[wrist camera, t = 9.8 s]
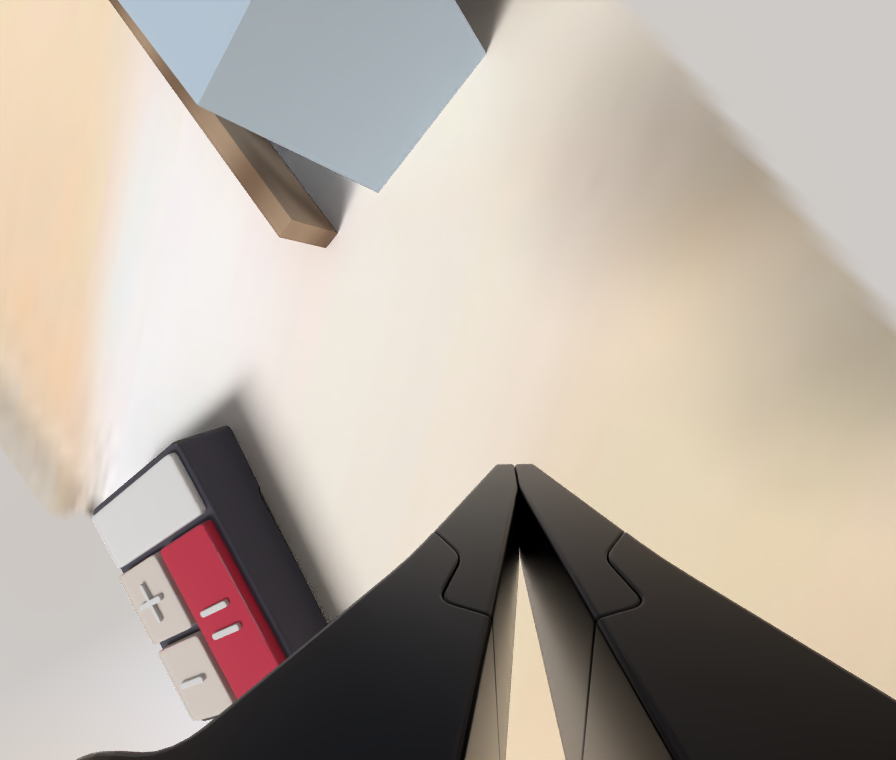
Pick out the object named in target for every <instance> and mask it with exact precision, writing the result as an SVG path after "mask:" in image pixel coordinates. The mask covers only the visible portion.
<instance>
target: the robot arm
mask: <svg viewBox="0 0 896 760" xmlns="http://www.w3.org/2000/svg"><path fill="white" fill-rule="evenodd" d="M519 552H520V559H521V565H522V570H523V574H524V578H525V583H526V587H527V592H528V596H529V600H530V605H531V609H532V614H533V618H534V622H535V627H536V631H537V636H538V640H539V644H540V649H541V653H542V658H543V662H544V666H545V671H546V675H547V680H548V684H549V688H550V693H551V697H552V702H553V706H554V710H555V715H556V719H557V724H558V728H559V732H560V737H561V741H562V746H563V750H564V754H565V759H566V760H896V700H895V699H893V698H892V697H890V696H888V695H887V694H885V693H883V692H882V691H880V690H878V689H877V688H875V687H873V686H872V685H870V684H868V683H867V682H865V681H864V680H862V679H860V678H859V677H857V676H855V675H854V674H852V673H850V672H849V671H847V670H845V669H844V668H842V667H840V666H839V665H837V664H835V663H834V662H832V661H831V660H829V659H827V658H826V657H824V656H822V655H821V654H819V653H817V652H816V651H814V650H812V649H811V648H809V647H807V646H806V645H804V644H802V643H801V642H799V641H798V640H796V639H794V638H793V637H791V636H789V635H788V634H786V633H784V632H783V631H781V630H779V629H778V628H776V627H774V626H773V625H771V624H769V623H768V622H766V621H764V620H763V619H761V618H760V617H758V616H756V615H755V614H753V613H751V612H750V611H748V610H746V609H745V608H743V607H741V606H740V605H738V604H736V603H735V602H733V601H731V600H730V599H728V598H727V597H725V596H723V595H722V594H720V593H718V592H717V591H715V590H713V589H712V588H710V587H708V586H707V585H705V584H703V583H702V582H700V581H698V580H697V579H695V578H694V577H692V576H690V575H689V574H687V573H685V572H684V571H682V570H681V569H679V568H678V567H676V566H674V565H673V564H671V563H670V562H668V561H667V560H665V559H663V558H662V557H660V556H659V555H658V554H656V553H655V552H653V551H652V550H650V549H649V548H647V547H646V546H645V545H643V544H642V543H640V542H639V541H638V540H636V539H635V538H633V537H632V536H631V535H629V534H628V533H624V531H623V530H622V529H620V528H619V527H617V526H616V525H615V524H613V523H612V522H611V521H609V520H608V519H607V518H605V517H604V516H603V515H601V514H600V513H598V512H597V511H596V510H594V509H593V508H592V507H590V506H589V505H588V504H586V503H585V502H584V501H582V500H581V499H580V498H578V497H577V496H575V495H574V494H573V493H571V492H570V491H569V490H567V489H566V488H565V487H563V486H562V485H561V484H559V483H558V482H556V481H555V480H554V479H552V478H551V477H550V476H548V475H547V474H546V473H544V472H543V471H542V470H540V469H539V468H538V467H536V466H535V465H533V464H517V465H516V466H515V467H514V465H512V464H500V465H496V466H495V467H494V468H493V469H492V470H491V471H490V472H489V473H488V474H487V476H486V477H485V478H484V479H483V480H482V481H481V482H480V483H479V484H478V485H477V486H476V487H475V488H474V490H473V491H472V492H471V493H470V494H469V495H468V496H467V497H466V498H465V499H464V500H463V501H462V502H461V504H460V505H459V506H458V507H457V508H456V509H455V510H454V511H453V512H452V513H451V514H450V515H449V516H448V518H447V519H446V520H445V521H444V522H443V523H442V524H441V525H440V526H439V527H438V528H437V529H436V530H435V532H434V533H432V534H431V535H430V536H429V537H428V538H427V539H426V540H425V541H424V542H423V543H422V544H421V545H420V546H419V547H418V548H417V549H416V550H415V551H414V552H413V553H412V554H411V555H410V556H409V557H408V558H407V559H406V560H405V561H404V562H403V563H401V564H400V565H399V566H398V567H397V568H396V569H395V570H393V571H392V572H391V573H390V574H389V575H387V576H386V577H385V578H384V579H383V580H381V581H380V582H379V583H378V584H377V585H375V586H374V587H373V588H372V589H371V590H369V591H368V592H367V593H366V594H364V595H363V596H362V597H361V598H360V599H358V600H357V601H356V602H355V603H354V604H352V605H351V606H350V607H349V608H348V609H346V610H345V611H344V612H343V613H341V614H340V615H339V616H338V617H337V618H335V619H334V620H333V621H332V622H331V623H329V624H328V625H327V626H326V627H324V628H323V629H322V630H321V631H320V632H318V633H317V634H316V635H315V636H314V637H312V638H311V639H310V640H309V641H308V642H306V643H305V644H304V645H303V646H301V647H300V648H299V649H298V650H297V651H295V652H294V653H293V654H292V655H291V656H289V657H288V658H287V659H286V660H284V661H283V662H282V663H281V664H280V665H278V666H277V667H276V668H275V669H274V670H272V671H271V672H270V673H269V674H268V675H266V676H265V677H264V678H263V679H261V680H260V681H259V682H258V683H257V684H255V685H254V686H253V687H252V688H251V689H249V690H248V691H247V692H246V693H244V694H243V695H242V696H241V697H240V698H238V699H237V700H236V701H235V702H234V703H232V704H231V705H230V706H229V707H228V708H226V709H225V710H224V711H223V712H221V713H220V714H219V715H218V716H217V717H215V718H214V719H213V720H212V721H211V722H210V723H208V724H207V725H206V726H204V727H203V728H202V729H201V730H199V731H198V732H196V733H195V734H193V735H192V736H191V737H189V738H187V739H185V740H184V741H181V742H180V743H178V744H176V745H174V746H171V747H168V748H165V749H162V750H159V751H154V752H128V751H103V752H96V753H91V754H88V755H85V756H83V757H81V758H78V759H77V760H506V746H507V732H508V717H509V703H510V689H511V674H512V660H513V646H514V631H515V617H516V603H517V588H518V574H519Z"/></svg>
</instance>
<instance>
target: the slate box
mask: <svg viewBox="0 0 896 760" xmlns="http://www.w3.org/2000/svg"><path fill="white" fill-rule="evenodd" d="M118 1H119V3H120V4H121V5H122V6H123V8H124V9H125V10H126V12H127V13H128V14H129V16H130V17H131V18H132V20H133V21H134V22H135V24H136V25H137V26H138V28H139V29H140V30H141V31H142V33H143V34H144V35H145V37H146V38H147V39H148V41H149V42H150V43H151V45H152V46H153V47H154V49H155V50H156V51H157V53H158V54H159V55H160V56H161V58H162V59H163V60H164V62H165V63H166V64H167V66H168V67H169V68H170V70H171V71H172V72H173V74H174V75H175V76H176V78H177V79H178V80H179V81H180V83H181V84H182V85H183V87H184V88H185V89H186V91H187V92H188V93H189V95H190V96H191V97H192V99H193V100H194V101H195V103H196V104H197V105H198V106H200V107H202V108H204V109H206V110H208V111H210V112H213V113H215V114H217V115H219V116H221V117H223V118H225V119H227V120H229V121H231V122H233V123H235V124H237V125H239V126H241V127H243V128H246V129H248V130H250V131H252V132H254V133H256V134H258V135H260V136H262V137H264V138H266V139H268V140H270V141H272V142H274V143H276V144H278V145H281V146H283V147H285V148H287V149H289V150H291V151H293V152H295V153H297V154H299V155H301V156H303V157H305V158H307V159H309V160H311V161H313V162H316V163H318V164H320V165H322V166H324V167H326V168H328V169H330V170H332V171H334V172H336V173H338V174H340V175H342V176H344V177H346V178H348V179H351V180H353V181H355V182H357V183H359V184H361V185H363V186H365V187H367V188H369V189H371V190H373V191H375V192H377V193H379V191H380V190H381V189H382V188H383V186H384V185H385V184H386V182H387V181H388V180H389V178H390V177H391V176H392V175H393V173H394V172H395V171H396V169H397V168H398V167H399V166H400V164H401V163H402V162H403V160H404V159H405V158H406V157H407V155H408V154H409V153H410V151H411V150H412V149H413V148H414V146H415V145H416V144H417V142H418V141H419V140H420V138H421V137H422V136H423V135H424V133H425V132H426V131H427V129H428V128H429V127H430V126H431V124H432V123H433V122H434V120H435V119H436V118H437V117H438V115H439V114H440V113H441V111H442V110H443V109H444V108H445V106H446V105H447V104H448V102H449V101H450V100H451V98H452V97H453V96H454V95H455V93H456V92H457V91H458V89H459V88H460V87H461V86H462V84H463V83H464V82H465V80H466V79H467V78H468V77H469V75H470V74H471V73H472V71H473V70H474V69H475V68H476V66H477V65H478V64H479V62H480V61H481V60H482V59H483V57H484V56H485V55H486V52H485V50H484V49H483V47H482V45H481V43H480V42H479V40H478V38H477V37H476V35H475V33H474V32H473V30H472V28H471V26H470V25H469V23H468V21H467V20H466V18H465V16H464V15H463V13H462V11H461V10H460V8H459V6H458V4H457V3H456V1H455V0H118Z"/></svg>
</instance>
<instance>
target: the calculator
mask: <svg viewBox="0 0 896 760" xmlns="http://www.w3.org/2000/svg"><path fill="white" fill-rule="evenodd" d="M93 514H94V516H93V518H92V520H93V522H94V525H95V526H96V528H97V530H98V532H99V534H100V536H101V538H102V540H103V542H104V544H105V546H106V548H107V550H108V552H109V553H110V555H111V557H112V559H113V561H114V563H115V565H116V566H117V568H121V569H122V571H123V573H124V574H123V575H121V576H120V578H119V580H120V583H121V585H122V587H123V588H124V590H125V593H126V594H127V596H128V598H129V600H130V602H131V604H132V606H133V608H134V610H135V612H136V614H137V616H138V618H139V619H140V621H141V623H142V625H143V627H144V629H145V631H146V633H147V635H148V637H149V639H150V640H151V642H152V643H153V644H157V643H159V642H160V644H161V646H162V648H163V649H162V650H161V651H160V652H159V653H158V655H159V658H160V660H161V662H162V664H163V666H164V667H165V669H166V671H167V673H168V675H169V677H170V679H171V681H172V682H173V685H174V687H175V689H176V691H177V693H178V695H179V696H180V698H181V700H182V702H183V704H184V706H185V708H186V710H187V712H188V714H189V716H190V717H191V719H192V720H193V721H199V720H203V721H206V720H210V719H213V718H215V717H217V716H218V715H219V714H220V713H221V712H223V711H224V710H225V709H226V708H228V707H229V706H230V705H231V704H232V703H234V702H235V701H236V700H237V699H238V698H240V697H241V696H242V695H243V694H244V693H246V692H247V691H248V690H249V689H251V688H252V687H253V686H254V685H255V684H257V683H258V682H259V681H260V680H261V679H263V678H264V677H265V676H266V675H268V674H269V673H270V672H271V671H272V670H274V669H275V668H276V667H277V666H278V665H280V664H281V663H282V662H283V661H284V660H286V659H287V658H288V657H289V656H291V655H292V654H293V653H294V652H295V651H297V650H298V649H299V648H300V647H301V646H303V645H304V644H305V643H306V642H308V641H309V640H310V639H311V638H312V637H314V636H315V635H316V634H317V633H318V632H320V631H321V630H322V629H323V628H324V627H326V626H327V625H328V624H327V622H326V620H325V618H324V616H323V614H322V612H321V610H320V608H319V606H318V604H317V602H316V600H315V598H314V596H313V594H312V592H311V590H310V588H309V586H308V584H307V582H306V580H305V578H304V576H303V574H302V572H301V570H300V568H299V566H298V564H297V562H296V560H295V558H294V556H293V554H292V553H291V551H290V549H289V547H288V545H287V543H286V541H285V540H284V538H283V536H282V534H281V532H280V530H279V529H278V527H277V525H276V523H275V521H274V520H273V518H272V516H271V514H270V512H269V510H268V509H267V507H266V505H265V503H264V501H263V499H262V498H261V496H260V493H259V485H258V483H257V480H256V478H255V476H254V474H253V472H252V470H251V468H250V466H249V464H248V462H247V460H246V458H245V456H244V454H243V452H242V450H241V448H240V446H239V444H238V442H237V440H236V438H235V436H234V434H233V432H232V430H231V429H230V428H229V427H228V426H225V427H221V428H218V429H215V430H211V431H208V432H205V433H201V434H198V435H195V436H192V437H189V438H185V439H182V440H179V441H176V442H174V443H172V444H171V445H170V446H169V447H167V448H166V449H165V450H164V451H163V452H162V453H160V454H159V455H158V456H157V457H156V458H154V459H153V460H152V461H151V462H150V463H149V464H147V465H146V466H145V467H144V468H143V469H141V470H140V471H139V472H138V473H137V474H136V475H134V476H133V477H132V478H131V479H130V480H128V481H127V482H126V483H125V484H124V485H123V486H121V487H120V488H119V489H118V490H117V491H115V492H114V493H113V494H112V495H111V496H110V497H108V498H107V499H106V500H105V501H104V502H102V503H101V504H100V505H99V506H98V507H97V508H96V509H95V510H94V512H93Z"/></svg>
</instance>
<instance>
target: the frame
mask: <svg viewBox="0 0 896 760" xmlns="http://www.w3.org/2000/svg"><path fill="white" fill-rule="evenodd" d="M109 1H110V2H111V4H112V5H113V6H114V8H115V9H116V11H117V12H118V13H119V15H120V16H121V18H122V19H123V20H124V22H125V23H126V25H127V26H128V27H129V29H130V30H131V31H132V33H133V34H134V36H135V37H136V38H137V40H138V41H139V43H140V44H141V45H142V47H143V48H144V50H145V51H146V52H147V54H148V55H149V57H150V58H151V59H152V61H153V62H154V63H155V65H156V66H157V68H158V69H159V70H160V72H161V73H162V75H163V76H164V77H165V79H166V80H167V82H168V83H169V84H170V86H171V87H172V89H173V90H174V91H175V93H176V94H177V95H178V97H179V98H180V100H181V101H182V102H183V104H184V105H185V107H186V108H187V109H188V111H189V112H190V114H191V115H192V116H193V118H194V119H195V121H196V122H197V123H198V125H199V126H200V128H201V129H202V130H203V132H204V133H205V134H206V136H207V137H208V139H209V140H210V141H211V143H212V144H213V146H214V147H215V148H216V150H217V151H218V153H219V154H220V155H221V157H222V158H223V160H224V161H225V162H226V164H227V165H228V166H229V168H230V169H231V171H232V172H233V173H234V175H235V176H236V178H237V179H238V180H239V182H240V183H241V185H242V186H243V187H244V189H245V190H246V192H247V193H248V194H249V196H250V197H251V199H252V200H253V201H254V203H255V204H256V205H257V207H258V208H259V210H260V211H261V212H262V214H263V215H264V217H265V218H266V219H267V221H268V222H269V224H270V225H271V226H272V228H273V229H274V231H275V232H276V233H277V235H278V236H279V237H281V238H285V239H289V240H294V241H298V242H302V243H307V244H311V245H315V246H320V247H324V248H326V247H327V246H328V244H329V243H330V242H331V241H332V239H333V238H334V237H335V236H336V234H337V232H336V230H335V229H334V228H333V226H332V225H331V224H330V222H329V221H328V220H327V218H326V217H325V216H324V214H323V213H322V212H321V210H320V209H319V208H318V206H317V205H316V204H315V202H314V201H313V200H312V198H311V197H310V196H309V194H308V193H307V192H306V190H305V189H304V188H303V186H302V185H301V184H300V182H299V181H298V180H297V178H296V177H295V176H294V174H293V173H292V172H291V170H290V169H289V168H288V166H287V165H286V164H285V162H284V161H283V160H282V158H281V157H280V156H279V154H278V153H277V152H276V151H275V149H274V148H273V147H272V145H271V144H270V143H269V141H268V140H267V139H266V138H264V137H262V136H260V135H258V134H256V133H254V132H252V131H250V130H248V129H246V128H243V127H241V126H239V125H237V124H235V123H233V122H231V121H229V120H227V119H225V118H223V117H221V116H219V115H217V114H215V113H213V112H210V111H208V110H206V109H204V108H202V107H200V106H198V105H197V104H196V103H195V101H194V100H193V99H192V97H191V96H190V95H189V93H188V92H187V91H186V89H185V88H184V87H183V85H182V84H181V83H180V81H179V80H178V79H177V78H176V76H175V75H174V74H173V72H172V71H171V70H170V68H169V67H168V66H167V64H166V63H165V62H164V60H163V59H162V58H161V56H160V55H159V54H158V53H157V51H156V50H155V49H154V47H153V46H152V45H151V43H150V42H149V41H148V39H147V38H146V37H145V35H144V34H143V33H142V31H141V30H140V29H139V28H138V26H137V25H136V24H135V22H134V21H133V20H132V18H131V17H130V16H129V14H128V13H127V12H126V10H125V9H124V8H123V6H122V5H121V4H120V3H119V1H118V0H109Z"/></svg>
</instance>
